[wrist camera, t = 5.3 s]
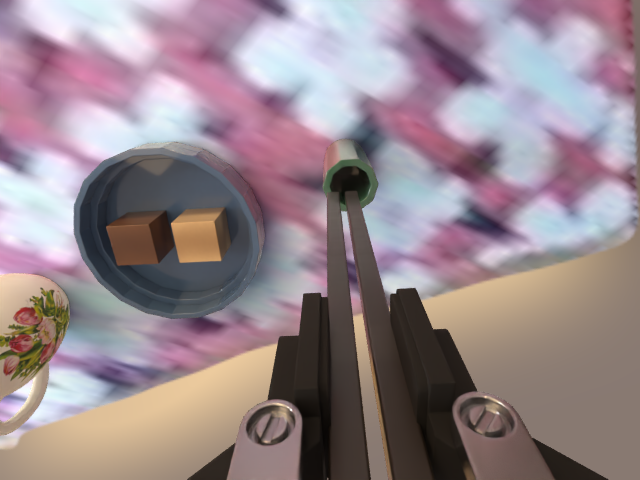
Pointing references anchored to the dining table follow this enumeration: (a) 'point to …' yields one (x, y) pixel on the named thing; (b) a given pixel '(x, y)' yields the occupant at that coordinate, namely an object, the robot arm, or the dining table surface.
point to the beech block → (201, 235)
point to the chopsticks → (388, 377)
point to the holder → (348, 172)
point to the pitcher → (29, 337)
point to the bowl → (173, 197)
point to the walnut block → (140, 238)
